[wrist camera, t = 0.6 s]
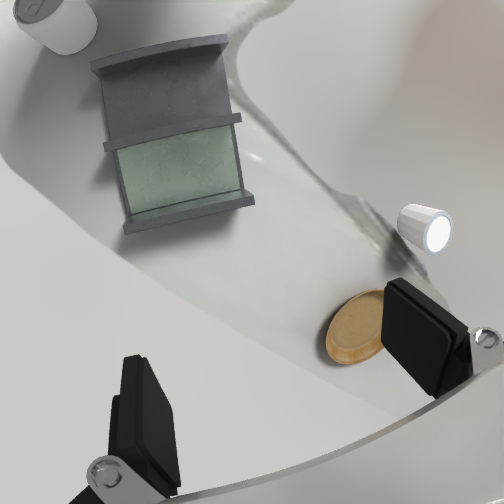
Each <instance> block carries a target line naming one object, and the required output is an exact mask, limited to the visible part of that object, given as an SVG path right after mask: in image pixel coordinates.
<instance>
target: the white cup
mask: <svg viewBox="0 0 504 504" xmlns="http://www.w3.org/2000/svg"><path fill="white" fill-rule="evenodd" d="M397 227H398V231H399V233H400V234H401V235H402V236H403V237H404V238H406V239H407V240H409V241H410V242H411V243H413V244H414V245H416V246H417V247H419V248H420V249H421V250H423V251H424V252H425V253H427V254H428V255H431V256H436V255H439V254H440V253H442V252H443V251H444V250H445V249H446V247H447V246H448V244H449V243H450V240H451V237H452V234H453V221H452V218H451V216H450V215H449V213H447V212H445V211H442V210H437V209H434V208H430V207H425V206H420V205H416V204H409V205H407V206H406V207H404V208H403V209H402V211H401V212H400V214H399V217H398V221H397Z"/></svg>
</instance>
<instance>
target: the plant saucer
mask: <svg viewBox="0 0 504 504" xmlns="http://www.w3.org/2000/svg"><path fill="white" fill-rule="evenodd" d="M383 301H384V289H373V290H368V291H365V292H362V293H360V294H358V295H356V296H354V297H353V298H351V299H350V300H348V301H347V302H346V303H345V304H344V305H343V306H342V307H341V308H340V309H339V310H338V311H337V313H336V314H335V316H334V317H333V319H332V321H331V323H330V326H329V328H328V332H327V335H326V349H327V352H328V354H329V356H330V357H331V358H332V359H333V360H334V361H335V362H337V363H340V364H344V365H352V364H357V363H361V362H363V361H366V360H368V359H370V358H371V357H373V356H375V355H376V354H377V353H379V352H380V351H381V350H382V349H383V348H384V346H383V345H382V343H381V327H382V315H383Z"/></svg>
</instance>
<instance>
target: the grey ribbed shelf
mask: <svg viewBox="0 0 504 504" xmlns="http://www.w3.org/2000/svg"><path fill="white" fill-rule="evenodd" d="M228 42H229V41H228V35H227V34H220V35H212V36H204V37H197V38H190V39H184V40H178V41H172V42H167V43H162V44H157V45H152V46H148V47H143V48H139V49H135V50H131V51H127V52H123V53H119V54H116V55H112V56H109V57H105V58H102V59H99V60H95V61H92V62H90V63H91V71H92V72H94V73H95V74H96V75H97V76H99V77H100V78H101V84H102V91H103V98H104V104H105V110H106V116H107V122H108V127H109V133H110V138H111V140H110V141H107V142H104V143H103V146H104V151H105V152H108V151H112V150H113V153H114V158H115V163H116V167H117V172H118V176H119V180H120V185H121V189H122V193H123V197H124V201H125V205H126V209H127V213H128V216H127V218H126V220H125V222H124V224H123V229H124V233H125V235H126V234H130V233H134V232H138V231H142V230H146V229H150V228H154V227H158V226H162V225H166V224H171V223H175V222H179V221H183V220H187V219H192V218H196V217H200V216H205V215H209V214H214V213H218V212H223V211H227V210H232V209H236V208H241V207H246V206H250V205H255V201H254V195H252V194H251V193H250V192H248V191H247V190H246V189H244V184H243V178H242V172H241V166H240V159H239V153H238V147H237V141H236V135H235V129H234V123H239V122H242V119H241V113H234V114H232V111H231V105H230V99H229V93H228V87H227V81H226V75H225V69H224V63H223V57H222V52H223V50H224V49H225V47H226V46H227V44H228Z"/></svg>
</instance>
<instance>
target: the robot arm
mask: <svg viewBox="0 0 504 504" xmlns="http://www.w3.org/2000/svg"><path fill="white" fill-rule="evenodd" d="M467 331H468V327H467V326H465V325H464V324H463V323H462V322H460V321H459V320H458V319H457V318H455V317H454V316H453V315H451V314H450V313H449V312H448V311H446V310H445V309H444V308H442V307H441V306H440V305H438V304H437V303H436V302H434V301H433V300H432V299H430V298H429V297H428V296H426V295H425V294H424V293H422V292H421V291H419V290H418V289H417V288H415V287H414V286H413V285H411V284H410V283H408V282H407V281H406V280H404V279H403V278H397V279H394V280H392V281H389V282H388V283H387V286H386V287H385V288H384V301H383V315H382V327H381V343H382V345H383V346H384V347H385V348H386V349H387V351H388V352H389V353H390V354H391V355H392V356H393V357H394V358H395V359H396V360H397V361H398V362H399V363H400V365H401V366H402V367H403V368H404V369H405V370H406V371H407V372H408V373H409V374H410V375H411V377H412V378H413V379H414V380H415V381H416V382H417V383H418V384H419V385H420V387H421V388H422V389H423V390H424V391H425V392H426V393H427V394H428V395H429V396H433V397H434V398H435V399H436V400H434V401H433V402H431V403H429V404H428V405H426V406H424V407H423V408H421V409H419V410H417V411H416V412H414V413H412V414H410V415H409V416H407V417H405V418H403V419H401V420H399V421H397V422H395V423H393V424H392V425H390V426H388V427H386V428H384V429H382V430H380V431H378V432H376V433H374V434H371V435H369V436H367V437H365V438H363V439H361V440H359V441H356V442H354V443H352V444H349V445H347V446H345V447H343V448H340V449H338V450H335V451H333V452H330V453H328V454H325V455H323V456H320V457H317V458H315V459H312V460H310V461H307V462H304V463H301V464H298V465H296V466H292V467H289V468H286V469H283V470H280V471H277V472H274V473H270V474H267V475H263V476H260V477H256V478H253V479H249V480H245V481H242V482H238V483H234V484H230V485H226V486H221V487H218V488H213V489H208V490H203V491H199V492H195V493H190V494H185V495H181V496H177V497H174V498H170V496H175V495H178V493H177V487H181V480H180V473H179V465H178V458H177V450H176V441H175V431H174V422H173V412H172V408H171V405H170V403H169V401H168V399H167V397H166V396H165V394H164V392H163V390H162V388H161V386H160V384H159V382H158V380H157V378H156V377H155V374H154V372H153V370H152V368H151V366H150V364H149V362H148V360H147V358H146V357H143V358H142V357H141V356H140V355H139V354H138V355H133V356H129V357H125V358H124V361H123V369H122V379H121V388H120V395H115V396H114V397H113V400H112V409H111V419H110V430H109V444H108V445H109V446H108V455H107V456H103V457H99V458H98V459H96V460H94V461H93V463H91V465H90V466H89V468H88V470H87V475H86V476H87V482H88V484H89V485H88V486H87V487H86V488H85V489H84V490H83V491H82V492H81V493H80V494H79V495H77V496H76V497H75V499H73V500H72V501H71V502H70V503H69V504H504V342H503V340H502V337H501V335H500V334H499V333H498V332H497V331H495V330H494V329H492V328H489V327H478V328H475V329H474V330H473V331H472V332H471V334H470V333H468V332H467Z"/></svg>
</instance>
